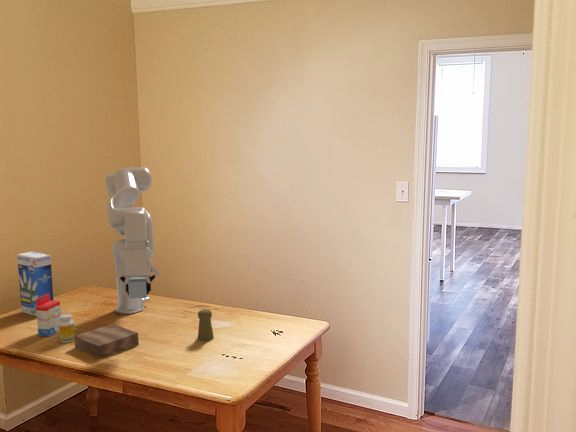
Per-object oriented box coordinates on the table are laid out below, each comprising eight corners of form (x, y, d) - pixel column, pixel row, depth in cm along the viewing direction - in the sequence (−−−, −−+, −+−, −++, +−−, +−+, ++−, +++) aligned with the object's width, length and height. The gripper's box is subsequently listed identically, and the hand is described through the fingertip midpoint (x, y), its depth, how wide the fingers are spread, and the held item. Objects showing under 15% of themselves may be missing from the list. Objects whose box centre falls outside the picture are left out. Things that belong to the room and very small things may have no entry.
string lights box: (21, 312, 247) (16, 254, 243) (36, 307, 253) (32, 251, 250) (40, 317, 240) (35, 257, 236) (55, 312, 247) (51, 254, 243)
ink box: (49, 337, 218) (46, 299, 215) (38, 336, 218) (34, 299, 216) (62, 329, 226) (59, 293, 224) (51, 328, 227) (48, 292, 224)
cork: (200, 342, 210) (199, 313, 209) (195, 337, 216) (194, 309, 214) (216, 339, 213) (215, 311, 211) (210, 334, 218) (209, 306, 217)
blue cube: (148, 293, 210) (147, 277, 209) (146, 297, 204) (145, 281, 203) (131, 293, 209) (130, 277, 208) (129, 298, 203) (128, 282, 202)
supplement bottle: (59, 339, 215) (57, 314, 214) (74, 336, 217) (72, 312, 216) (60, 344, 210) (58, 319, 209) (76, 341, 213) (74, 316, 211)
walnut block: (113, 336, 219) (112, 323, 218) (138, 345, 209) (138, 332, 208) (75, 349, 206) (74, 335, 206) (100, 359, 196) (99, 346, 196)
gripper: (161, 242, 208) (164, 289, 211) (113, 243, 206) (116, 291, 209) (159, 246, 201) (161, 295, 204) (109, 247, 199) (112, 297, 202)
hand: (138, 293), depth 206 cm, fingers closed on blue cube, 6 cm apart
